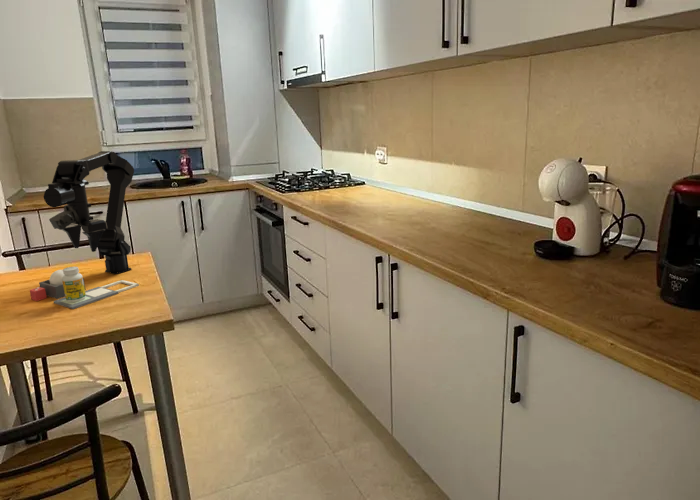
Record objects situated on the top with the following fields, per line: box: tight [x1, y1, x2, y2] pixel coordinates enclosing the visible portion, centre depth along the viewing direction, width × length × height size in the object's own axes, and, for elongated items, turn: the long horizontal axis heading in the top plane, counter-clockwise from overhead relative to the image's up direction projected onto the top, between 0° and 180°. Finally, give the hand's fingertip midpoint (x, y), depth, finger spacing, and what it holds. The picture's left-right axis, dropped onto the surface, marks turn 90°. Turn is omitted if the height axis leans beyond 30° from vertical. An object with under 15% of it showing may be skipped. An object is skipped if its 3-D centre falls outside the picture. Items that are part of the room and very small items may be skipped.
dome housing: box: [29, 278, 87, 302], centre depth 158 cm, size 13×9×4 cm
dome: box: [48, 269, 64, 286], centre depth 159 cm, size 7×7×6 cm
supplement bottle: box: [62, 266, 86, 302], centre depth 150 cm, size 5×5×10 cm
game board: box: [53, 279, 140, 310], centre depth 157 cm, size 22×10×1 cm, turn 148°
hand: (85, 249), depth 163 cm, fingers open, 9 cm apart
